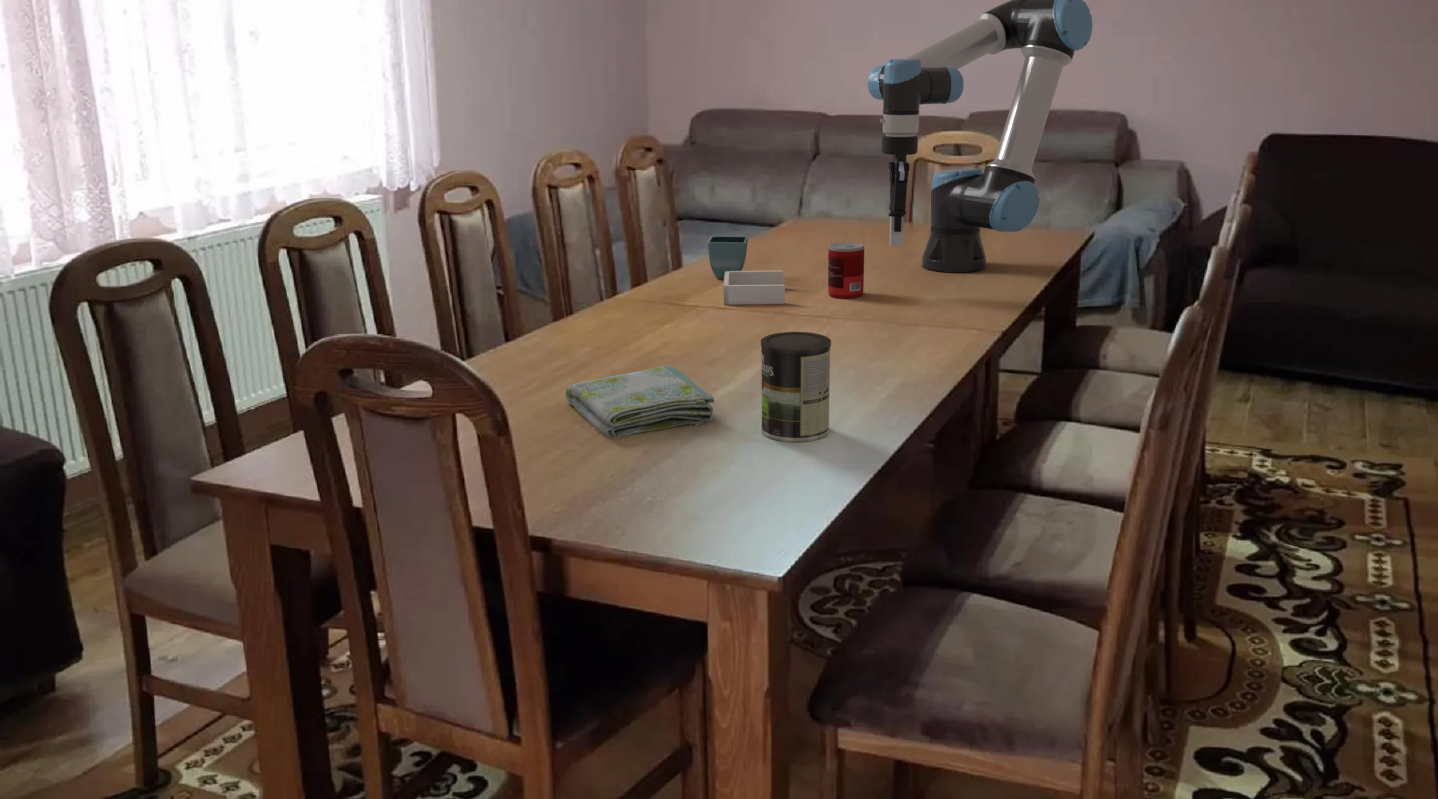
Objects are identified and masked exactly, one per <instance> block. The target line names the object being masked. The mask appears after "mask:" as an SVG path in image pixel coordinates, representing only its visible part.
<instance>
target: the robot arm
mask: <svg viewBox="0 0 1438 799" xmlns="http://www.w3.org/2000/svg"><path fill="white" fill-rule="evenodd" d="M1092 33H1093V17H1092V14H1091V10H1090V8H1089V6H1088V4H1087V3H1086V1H1084V0H1008V1H1006V2H1004V3H1002V4H999V5H997V6H995V7H994V8H991V9H989V10H987V11H986V12H983V13H981V14H980V15H978V16H977V17H976V18H975V20H974V22H973V23H972V24H970V25H968V26H966V27H964V28H962V29H960V30H958V31H957V32H955V33H952V34H951V35H949V36H947V37H945V38H943V39H941V40H939V41H937V42H935V43H934V44H931V45H929V46H927V47H926V48H924V49H922V50H920V51H917V52H916V53H914V54H912V55H910V56H908V57H906V58H891V59H888V60H887V61H886V62H885V64H883V65H878V66H875V67H873V69H872V70H870V72H869V74H868V76H867V83H866V84H867V89H868V92H869V94H870V95H871V97H872V98H874V99H876V100H879V101H882V102H883V103H882V107H883V108H882V117H883V118H880V119H879V123H880V124H882V133H883V136H882V137H881V152H882V154H884V155H890V156H891V155H892V157H891V161H889V162H888V170H889V211H890V212H888V218H889V217H890V218H889V219H890V222H889V223H890V224H889V247H891V248H893V247H894V248H895V247H896V248H897V247H898V248H899V247H901V248H902V247H904V225H905V224H904V223H905V216H906V214H907V212H906V206H907V204H906V203H907V189H908V181H909V180H908V179H909V172H910V163H909V162H908V161H907V156H908V155H910V156H912V155H916V154H917V153H918V150H919V149H918V148H919V137H918V135H916V134H918V133H919V130H920V129H919V127H920V106H921V105H939V104H941V105H942V104H943V105H947V104H951V103H954V102H956V101H958V100H959V99H960V97H961V96H962V94H963V93H964V84H965V83H964V77H963V75H962V73H961V72H960V71H959V69H960V68H963V67H964V66H966V65H968V64H970V63H972V62H974V61H976V60H979V59H981V58H982V57H984V56H985V55H988V54H989V55H996V54H999V53H1000V52H1003V51H1006V50H1010V49H1011V50H1012V49H1013V50H1014V49H1015V50H1016V49H1020V50H1021V53H1022V55H1023V56H1024V61H1023V65H1022V69H1021V70H1020V75H1019V77H1018V78H1019V79H1018V82H1017V85H1016V88H1015V92H1014V94H1013V98H1012V102H1011V104H1010V108H1009V111H1008V115H1007V118H1006V121H1005V124H1004V128H1003V131H1002V134H1001V138H1000V142H999V144H998V148H997V151H996V155H995V158H994V160H993V161H991V162H989V163H988V164H986V165H985V167H984V170H982V169H981V168H967V169H954V170H953V169H952V170H944V171H939V172H936V173H935V174H934V176H933V177H932V183H931V188H930V197H931V198H930V234H929V237H928V239H927V243H926V244H925V245H926V246H925V248H924V251H923V253H922V257H921V258H922V259H921V267H923V268H924V269H927V270H929V271H935V272H941V273H942V272H943V273H968V272H969V273H971V272H977V271H978V272H979V271H981V270H984V269H986V268H987V257H986V252H985V250H984V249H985V248H984V246H983V243H982V239H981V228H982V229H988V230H993V231H996V232H1000V233H1001V232H1002V233H1004V232H1005V233H1006V232H1009V233H1013V232H1014V233H1017V232H1020V231H1022V230H1023V229H1024V228H1026V227H1028V226H1029V225H1030V224H1031V223H1032V221H1033V220H1034V218H1035V217H1036V216H1037V212H1038V209H1039V206H1040V197H1038V196H1039V195H1040V192H1039V189H1038V187H1037V186H1036V184H1035V182H1036V179H1037V178H1036V176H1035V175H1034V172H1033V170H1032V169H1033V165H1034V163H1035V159H1036V155H1037V153H1038V149H1039V146H1040V142H1041V139H1042V136H1043V133H1044V129H1045V126H1046V124H1047V123H1046V122H1047V120H1048V116H1049V113H1050V110H1051V107H1052V103H1053V100H1054V97H1055V94H1056V90H1057V87H1058V84H1059V80H1060V77H1061V74H1062V70H1063V68H1064V67H1066V66H1068V65H1069V64H1071V63H1072V61H1073V57H1074V55H1075V51H1080V50H1082V49H1083V48H1085V46H1087V45H1088V44H1089V41H1090V40H1091V37H1092ZM884 134H885V135H884Z"/></svg>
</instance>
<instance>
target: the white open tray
mask: <svg viewBox="0 0 1438 799" xmlns="http://www.w3.org/2000/svg"><path fill="white" fill-rule="evenodd" d="M723 279H724V280H723V305H727V306H728V305H785V304H786V285H785V284H784V270H742V271H725V276H724V278H723Z"/></svg>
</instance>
